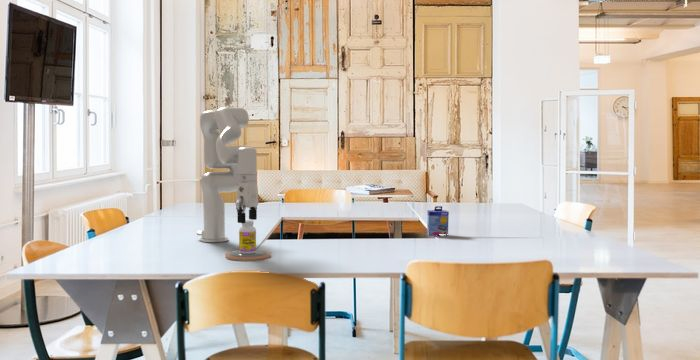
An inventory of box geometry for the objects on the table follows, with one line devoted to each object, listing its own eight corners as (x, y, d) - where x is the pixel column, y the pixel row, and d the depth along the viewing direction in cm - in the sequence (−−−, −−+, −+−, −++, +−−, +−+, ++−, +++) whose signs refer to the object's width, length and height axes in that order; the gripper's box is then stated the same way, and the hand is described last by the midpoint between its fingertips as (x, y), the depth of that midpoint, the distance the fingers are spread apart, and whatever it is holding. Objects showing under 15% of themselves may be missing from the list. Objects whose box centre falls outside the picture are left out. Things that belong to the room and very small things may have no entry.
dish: (216, 259, 252) (216, 255, 252) (238, 251, 269) (238, 248, 269) (258, 262, 246) (258, 258, 246) (277, 253, 263) (277, 250, 263)
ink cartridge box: (428, 236, 310) (428, 206, 309) (426, 234, 316) (426, 205, 315) (448, 236, 311) (449, 206, 310) (446, 234, 316) (446, 205, 315)
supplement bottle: (240, 254, 253) (239, 222, 253) (238, 251, 260) (238, 220, 259) (257, 254, 255) (256, 221, 254) (255, 251, 262) (254, 219, 261)
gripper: (245, 180, 246) (245, 224, 248) (265, 177, 263) (265, 218, 264) (228, 179, 248) (228, 223, 250) (248, 176, 265) (248, 217, 266)
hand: (247, 221), depth 257 cm, fingers open, 9 cm apart
